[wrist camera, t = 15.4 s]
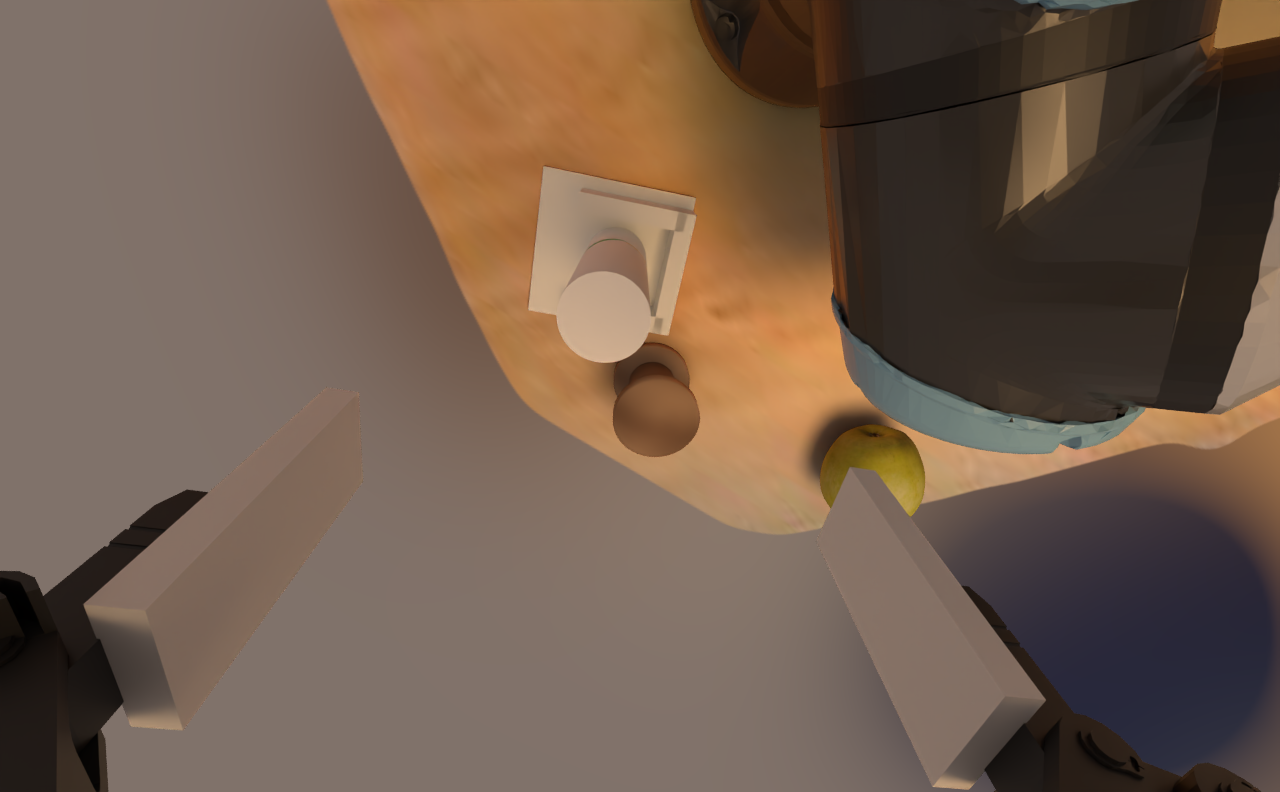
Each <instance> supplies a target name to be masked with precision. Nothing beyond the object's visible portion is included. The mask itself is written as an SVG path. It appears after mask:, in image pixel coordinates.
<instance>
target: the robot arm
mask: <svg viewBox="0 0 1280 792" xmlns="http://www.w3.org/2000/svg"><path fill="white" fill-rule="evenodd" d="M1221 2H1222V0H691V5H692V10H693V13H694V17H695V21H696V23H697V26H698V29H699V32H700V34H701V37H702V39H703V41H704V43H705V45H706V47H707V49H708V51H709V52H710V54H711V56H712V57H713V59H714V60H715V62H716V63H717V65H718V66H719V67H720V68H721V70H722V71H723V72H724V73H725V74H726V75H727V76H728V77H729V78H730V79H731V80H732V81H733V82H734V83H735V84H736V85H737V86H739V87H740V88H741V89H743V90H744V91H746V92H747V93H749V94H751V95H752V96H754V97H756V98H758V99H760V100H763V101H765V102H768V103H771V104H775V105H779V106H784V107H794V108H804V107H816V106H819V112H820V132H821V142H822V153H823V165H824V177H825V189H826V201H827V212H828V224H829V236H830V248H831V260H832V272H833V284H834V288H833V293H832V297H831V302H832V310H833V313H834V316H835V319H836V321H837V323H838V325H839V326H840V333H841V340H842V347H843V353H844V359H845V364H846V367H847V370H848V372H849V375H850V377H851V379H852V381H853V382H854V383H855V384H856V385H857V386H858V387H859V388H860V389H861V390H862V392H863V393H864V395H865V397H866V398H867V399H868V400H869V401H870V402H871V403H872V404H873V405H874V406H875V407H877V408H878V409H879V410H881V411H882V412H883V413H885V414H886V415H888V416H889V417H891V418H892V419H894V420H896V421H897V422H899V423H901V424H903V425H905V426H907V427H909V428H911V429H913V430H916V431H918V432H920V433H923V434H925V435H928V436H931V437H934V438H937V439H940V440H943V441H946V442H950V443H954V444H957V445H961V446H965V447H970V448H975V449H980V450H986V451H993V452H1001V453H1013V454H1047V453H1052V452H1053V451H1054V450H1055V449H1056V448H1057V447H1058V445H1059V443H1060V444H1062V445H1065V446H1067V447H1070V448H1073V449H1082V448H1086V447H1091V446H1095V445H1098V444H1101V443H1103V442H1105V441H1108V440H1110V439H1112V438H1113V437H1115V436H1117V435H1119V434H1120V433H1121V432H1122V431H1123V430H1124V429H1125V428H1127V427H1128V426H1129V425H1130V424H1131V423H1132V422H1134V420H1135V419H1136V418H1137V417H1138V416H1140V415H1141V414H1142V413H1143V412H1144V410H1145V408H1157V409H1166V410H1176V411H1185V412H1195V413H1204V414H1218V415H1220V414H1222V413H1225V412H1227V411H1229V410H1231V409H1233V408H1235V407H1237V406H1239V405H1241V404H1243V403H1245V402H1247V401H1249V400H1251V399H1253V398H1255V397H1257V396H1259V395H1261V394H1263V393H1265V392H1267V391H1269V390H1271V389H1273V388H1275V387H1277V386H1279V385H1280V37H1275V38H1271V39H1266V40H1261V41H1256V42H1251V43H1246V44H1242V45H1237V46H1232V47H1227V48H1222V49H1217V48H1215V47H1213V45H1214V38H1215V32H1216V29H1217V21H1218V17H1219V12H1220V7H1221ZM361 450H362V449H361V428H360V408H359V392H353V391H346V390H340V389H333V388H325V389H324V390H323V391H322V392H321V393H320V394H319V395H318V396H316V397H315V398H314V399H313V400H312V401H311V402H310V403H309V404H307V405H306V406H305V407H304V408H303V409H302V410H301V411H300V412H298V413H297V414H296V415H295V416H294V417H293V418H292V419H291V420H289V421H288V422H287V423H286V424H285V425H284V426H283V427H282V428H281V429H279V430H278V431H277V432H276V433H275V434H274V435H273V436H272V437H270V438H269V439H268V440H267V441H266V442H265V443H264V444H263V445H261V446H260V447H259V448H258V449H257V450H256V451H255V452H254V453H252V454H251V455H250V456H249V457H248V458H247V459H246V460H245V461H243V463H241V464H240V465H239V466H238V467H237V468H236V469H235V470H233V471H232V472H231V473H230V474H229V475H228V476H227V477H226V478H225V479H223V480H222V481H221V482H220V483H219V484H218V485H217V486H216V487H214V488H213V489H212V490H211V491H210V492H200V491H193V490H185V491H183V492H182V493H179V494H177V495H175V496H173V497H171V498H169V499H167V500H165V501H163V502H160V503H158V504H156V505H154V506H153V507H152V508H151V509H150V510H148V511H147V512H146V513H145V514H143V515H142V516H141V517H140V518H138V519H137V520H136V521H135V522H134V523H132V524H131V525H130V528H129V530H127V529H125V530H124V531H123V532H121V533H120V534H119V535H118V536H117V537H115V538H114V539H113V540H112V541H110V544H109V546H108V547H105V546H104V547H103V548H102V549H100V550H99V551H98V552H97V553H96V554H94V555H93V556H92V557H91V558H89V559H88V560H87V561H86V562H84V563H83V564H82V565H81V566H80V567H79V568H77V569H76V570H75V571H74V572H72V573H71V574H70V575H69V576H67V577H66V578H65V579H64V580H62V581H61V582H60V583H59V584H58V585H56V586H55V587H54V588H53V589H51V590H50V591H49V592H48V593H47V594H45V595H44V596H43V595H42V592H41V590H40V588H39V586H38V584H37V582H36V579H35V577H32V576H30V575H27V574H25V573H22V572H20V571H0V792H108V778H107V761H106V744H105V738H104V735H103V733H102V731H101V728H102V727H103V725H104V724H105V723H106V722H107V721H108V720H109V718H110V717H111V716H112V715H113V714H114V712H116V710H117V709H118V708H119V707H120V706H121V705H123V708H124V710H125V713H126V715H127V718H128V720H129V723H130V725H131V727H145V728H159V729H172V730H184V729H185V727H186V726H187V724H188V723H189V722H190V720H191V719H192V717H193V716H194V715H195V713H196V712H197V711H198V709H199V708H200V706H201V705H202V704H203V702H204V701H205V699H206V698H207V697H208V695H209V694H210V693H211V691H212V690H213V688H214V687H215V686H216V684H217V683H218V682H219V680H220V679H221V677H222V676H223V675H224V673H225V672H226V670H227V669H228V668H229V666H230V665H231V663H232V662H233V661H234V659H235V658H236V657H237V655H238V654H239V652H240V651H241V650H242V648H243V647H244V645H245V644H246V642H247V641H248V640H249V639H250V637H251V636H252V634H253V633H254V632H255V630H256V629H257V627H258V626H259V625H260V623H261V622H262V621H263V619H264V618H265V616H266V615H267V614H268V612H269V611H270V610H271V608H272V607H273V605H274V604H275V603H276V601H277V600H278V598H279V597H280V596H281V594H282V593H283V592H284V590H285V589H286V587H287V586H288V585H289V583H290V582H291V580H292V579H293V577H294V576H295V575H296V574H297V572H298V571H299V569H300V568H301V567H302V565H303V564H304V562H305V561H306V560H307V558H308V557H309V555H310V554H311V553H312V551H313V550H314V549H315V547H316V546H317V544H318V543H319V542H320V540H321V539H322V537H323V536H324V535H325V533H326V532H327V531H328V529H329V528H330V526H331V525H332V524H333V522H334V521H335V519H336V518H337V516H338V515H339V514H340V513H341V511H342V510H343V508H344V507H345V506H346V504H347V503H348V501H349V500H350V499H351V497H352V496H353V494H354V493H355V492H356V490H357V489H358V488H359V486H360V485H361V483H362V482H363V470H362V451H361ZM816 542H817V544H818V546H819V549H820V551H821V553H822V555H823V557H824V559H825V561H826V563H827V565H828V568H829V569H830V572H831V574H832V576H833V578H834V580H835V582H836V584H837V586H838V589H839V591H840V593H841V595H842V597H843V599H844V601H845V603H846V605H847V607H848V609H849V612H850V614H851V616H852V618H853V620H854V622H855V624H856V626H857V629H858V631H859V633H860V635H861V637H862V639H863V641H864V643H865V645H866V648H867V649H868V652H869V654H870V656H871V658H872V660H873V662H874V664H875V666H876V668H877V671H878V673H879V675H880V677H881V679H882V681H883V683H884V685H885V687H886V690H887V692H888V694H889V696H890V698H891V700H892V702H893V704H894V707H895V709H896V711H897V713H898V715H899V717H900V719H901V721H902V723H903V726H904V728H905V730H906V732H907V734H908V736H909V738H910V740H911V742H912V744H913V747H914V749H915V751H916V753H917V755H918V757H919V759H920V761H921V763H922V765H923V768H924V769H925V772H926V774H927V776H928V778H929V780H930V782H931V785H932V786H933V787H943V788H957V789H970V788H971V787H972V785H973V784H974V783H975V782H976V781H977V780H978V778H979V777H980V776H981V775H982V774H983V773H984V772H985V771H986V773H987V775H988V777H989V778H990V780H991V782H992V784H993V785H994V787H995V789H996V790H995V791H994V792H1261V791H1260V790H1258V789H1257V788H1256V787H1253V785H1251V784H1250V783H1249V782H1247V781H1246V780H1244V779H1243V778H1241V777H1239V776H1237V775H1235V774H1234V773H1232V772H1230V771H1228V770H1226V769H1225V768H1222V767H1219V766H1216V765H1213V764H1210V763H1202V764H1197V765H1195V766H1194V767H1193V768H1192V769H1191V770H1190V771H1188V772H1187V773H1186V774H1185V775H1184V776H1183V777H1181V776H1178V775H1176V774H1173V773H1170V772H1168V771H1165V770H1163V769H1160V768H1158V767H1155V766H1153V765H1150V764H1147V763H1145V762H1143V761H1142V760H1141V759H1140V757H1139V756H1138V755H1137V753H1136V752H1135V751H1134V750H1133V749H1132V748H1131V747H1130V746H1129V745H1128V744H1127V743H1126V742H1125V741H1124V740H1123V739H1122V738H1121V737H1120V736H1119V735H1117V734H1116V733H1114V732H1113V731H1112V730H1110V729H1109V728H1107V727H1106V726H1105V725H1103V724H1102V723H1100V722H1098V721H1096V720H1093V719H1091V718H1089V717H1087V716H1085V715H1080V714H1075V713H1073V711H1072V710H1071V709H1070V707H1069V706H1068V705H1067V704H1066V702H1065V701H1064V700H1063V699H1062V697H1061V696H1060V695H1059V693H1058V692H1057V691H1056V689H1055V688H1054V687H1053V685H1052V684H1051V683H1050V682H1049V680H1048V679H1047V678H1046V677H1045V675H1044V674H1043V673H1042V671H1041V670H1040V669H1039V667H1038V666H1037V665H1036V664H1035V662H1034V661H1033V660H1032V659H1031V657H1030V656H1029V655H1028V653H1027V652H1026V651H1025V649H1024V648H1021V647H1020V645H1019V644H1020V643H1019V642H1018V640H1017V639H1016V638H1015V636H1014V635H1013V634H1012V633H1011V631H1009V630H1007V629H1006V625H1005V624H1004V622H1003V621H1002V620H1001V618H1000V617H999V616H998V615H997V613H996V612H995V611H994V610H993V608H992V607H991V606H990V605H989V604H988V603H987V602H986V601H985V600H984V599H982V598H981V597H980V596H979V595H978V594H977V593H975V592H974V591H973V590H972V589H971V588H970V587H967V586H961V585H960V584H959V583H958V581H957V580H956V578H955V577H954V576H953V574H952V573H951V572H950V570H949V569H948V568H947V566H946V565H945V564H944V562H943V561H942V560H941V559H940V557H939V556H938V554H937V553H936V552H935V550H934V549H933V548H932V546H931V545H930V543H929V542H928V541H927V540H926V538H925V537H924V535H923V534H922V533H921V531H920V530H919V529H918V527H917V526H916V525H915V523H914V522H913V521H912V519H911V518H910V517H909V515H908V514H907V513H906V511H905V510H904V509H903V507H902V506H901V505H900V503H899V502H898V500H897V499H896V498H895V496H894V495H893V494H892V492H891V491H890V490H889V488H888V487H887V486H886V484H885V483H884V482H883V480H882V479H881V478H880V476H879V475H878V474H877V472H876V471H874V470H867V469H861V468H854V467H850V468H849V470H848V472H847V474H846V477H845V479H844V481H843V483H842V485H841V488H840V490H839V492H838V494H837V496H836V499H835V501H834V503H833V505H832V507H831V510H830V512H829V514H828V516H827V518H826V521H825V523H824V525H823V527H822V530H821V532H820V534H819V536H818V538H817V541H816Z"/></svg>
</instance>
